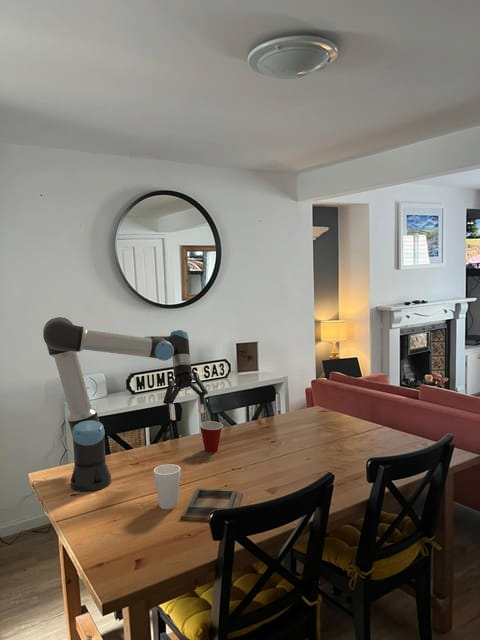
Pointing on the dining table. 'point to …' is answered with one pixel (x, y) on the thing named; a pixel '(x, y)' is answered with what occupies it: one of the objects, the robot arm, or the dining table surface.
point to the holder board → (210, 502)
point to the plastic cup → (211, 435)
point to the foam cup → (167, 485)
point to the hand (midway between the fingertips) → (187, 416)
